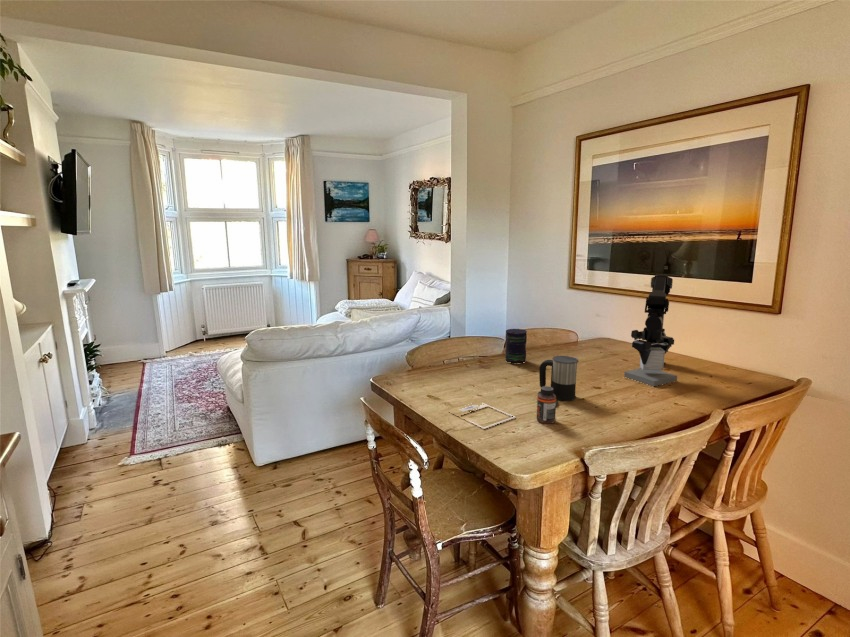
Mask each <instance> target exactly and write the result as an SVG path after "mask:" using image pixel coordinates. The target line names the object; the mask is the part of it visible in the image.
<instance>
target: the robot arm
mask: <svg viewBox="0 0 850 637" xmlns="http://www.w3.org/2000/svg"><path fill="white" fill-rule="evenodd" d="M650 279H651V280H650V288H651V289H652V290H651V292H649V294H648V296H647V297H646V298H645V299H646V300H645V306H644V307H645V308H644V313H645V314H647V317H646V319H645V321H644V325H645V327H644V328H643V330H641V331H639V330H638V329H633V330H631V335H630V336H631V338H632V339H633V341H632V342H631V348H634V350H636V351H638V353H639V356H640V358H641V360H642V363H643V364H644V365H646V363H647V360H648V357H649V355H650V352H651V350H650V348H651V347H654V348H662V349H663V350H665V355H666V353H667V352H669V350H670V348H672V346H673V345H675V339H674V338H673V336H668V335H667V334H666V333H665V330H666V329H665V328H664V320H665V315H666V314H667V313H668V312H669V307H670V301H669V299H668V298H667V297H668V295H669V294H670V293H671V289H673V282H674V281H673V278H672V277H671V276H669V275H667V274H655V275H654V276H653V277H651V278H650ZM665 364H666V362H665V361H664V365H665Z"/></svg>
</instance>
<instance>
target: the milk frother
mask: <svg viewBox="0 0 850 637" xmlns="http://www.w3.org/2000/svg"><path fill="white" fill-rule="evenodd" d="M578 363H579V359H578V358H577V357H574V356H568V355H556V356H555V355H554V356H553V357H552V359H545V360H544V361H542V362H541V363H540V365H539V368H538V370H539V373H538V374H539V386H540V388H541V387H543V386H547V374H546V372H547V367H551V376H550V387H552V388H553V394H555V396H556V405H557V404H558V403H559V401H567V402H568V401H573V400H575V399H576V397H577V395H576V385H577V384H576V382H577V372H578V371H577V369H578ZM540 392H541V391H538V393H537V395H538V394H539V393H540Z"/></svg>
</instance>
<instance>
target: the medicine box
mask: <svg viewBox="0 0 850 637" xmlns="http://www.w3.org/2000/svg"><path fill="white" fill-rule="evenodd" d="M650 350H651V352H650V355H649V357H648V360H647V363H646V365H644V364H643V363H642V360H641V357H640V359H639V360H640V362H639V368H642V369H643V370H660V371H664V365H665V364H664V362H665V355H666V354H665V350H663V349H662V348H654V347H651V348H650Z"/></svg>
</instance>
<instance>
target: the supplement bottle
mask: <svg viewBox="0 0 850 637" xmlns="http://www.w3.org/2000/svg"><path fill="white" fill-rule="evenodd" d="M539 392H540V393H539V394H538V393H537V397H536V398H537V401H536V420H537V421H538V423H541V424H546V425H547V424H553V423H555V421H556V408H557V404H556V396H555V394H553V388H552V387H551V386H549V385H545V386H543V387H540V391H539Z"/></svg>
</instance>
